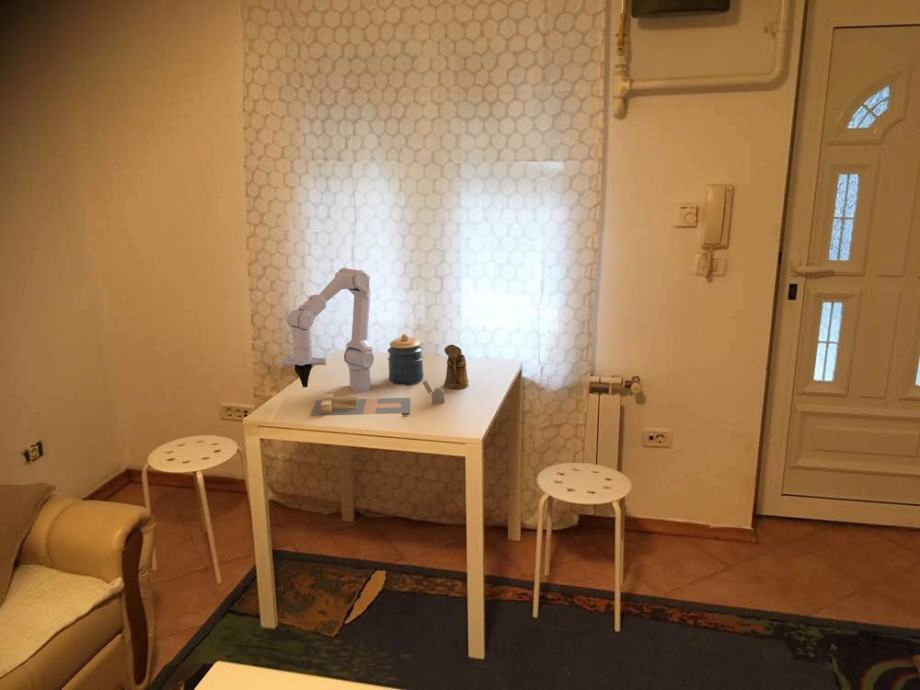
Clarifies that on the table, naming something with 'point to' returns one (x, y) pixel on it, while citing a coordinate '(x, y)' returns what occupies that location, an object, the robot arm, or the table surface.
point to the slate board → (369, 407)
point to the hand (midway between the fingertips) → (305, 386)
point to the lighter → (435, 394)
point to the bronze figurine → (455, 368)
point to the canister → (405, 361)
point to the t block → (337, 403)
